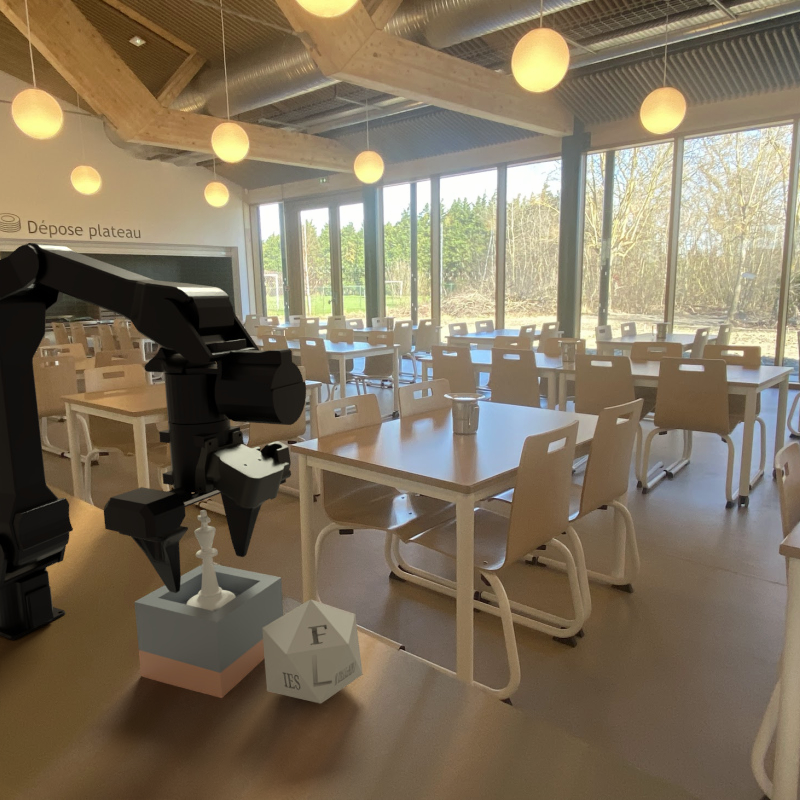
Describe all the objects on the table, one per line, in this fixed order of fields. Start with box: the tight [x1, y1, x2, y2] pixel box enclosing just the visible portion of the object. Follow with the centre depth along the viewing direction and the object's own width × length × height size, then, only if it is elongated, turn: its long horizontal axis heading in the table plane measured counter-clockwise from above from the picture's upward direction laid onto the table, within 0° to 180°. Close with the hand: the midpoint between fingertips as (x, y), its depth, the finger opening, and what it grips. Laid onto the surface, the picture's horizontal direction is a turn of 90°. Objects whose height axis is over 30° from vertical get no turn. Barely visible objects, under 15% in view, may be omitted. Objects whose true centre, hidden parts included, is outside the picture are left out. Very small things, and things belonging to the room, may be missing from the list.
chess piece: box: [186, 509, 236, 611], centre depth 64 cm, size 5×5×10 cm
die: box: [262, 599, 364, 704], centre depth 58 cm, size 8×9×10 cm
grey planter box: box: [134, 563, 284, 699], centre depth 65 cm, size 10×10×8 cm
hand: (209, 572), depth 64 cm, fingers open, 9 cm apart
